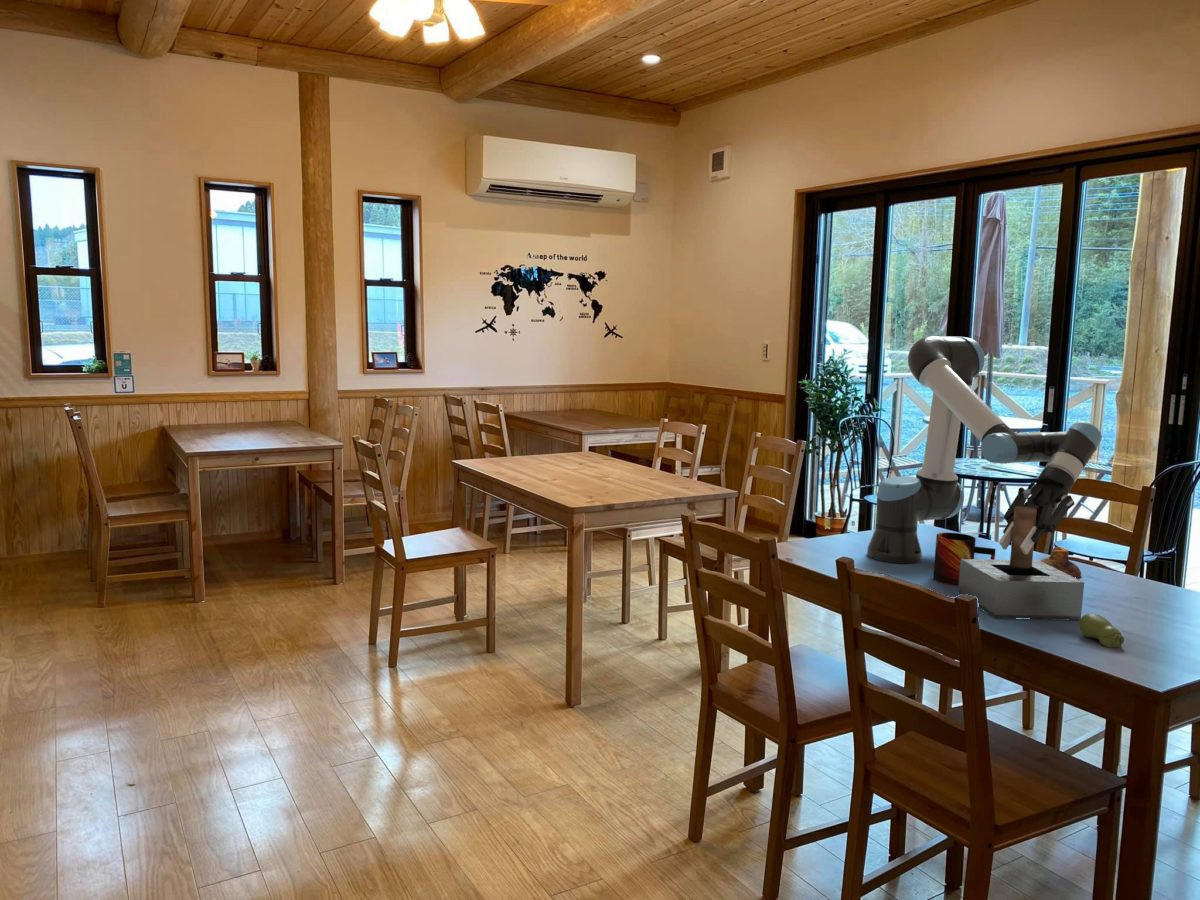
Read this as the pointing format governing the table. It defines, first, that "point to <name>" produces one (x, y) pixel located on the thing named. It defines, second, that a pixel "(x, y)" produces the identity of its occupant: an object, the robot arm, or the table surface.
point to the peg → (1022, 536)
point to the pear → (1100, 630)
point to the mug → (954, 555)
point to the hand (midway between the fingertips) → (1012, 548)
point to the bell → (1062, 562)
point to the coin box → (1021, 590)
